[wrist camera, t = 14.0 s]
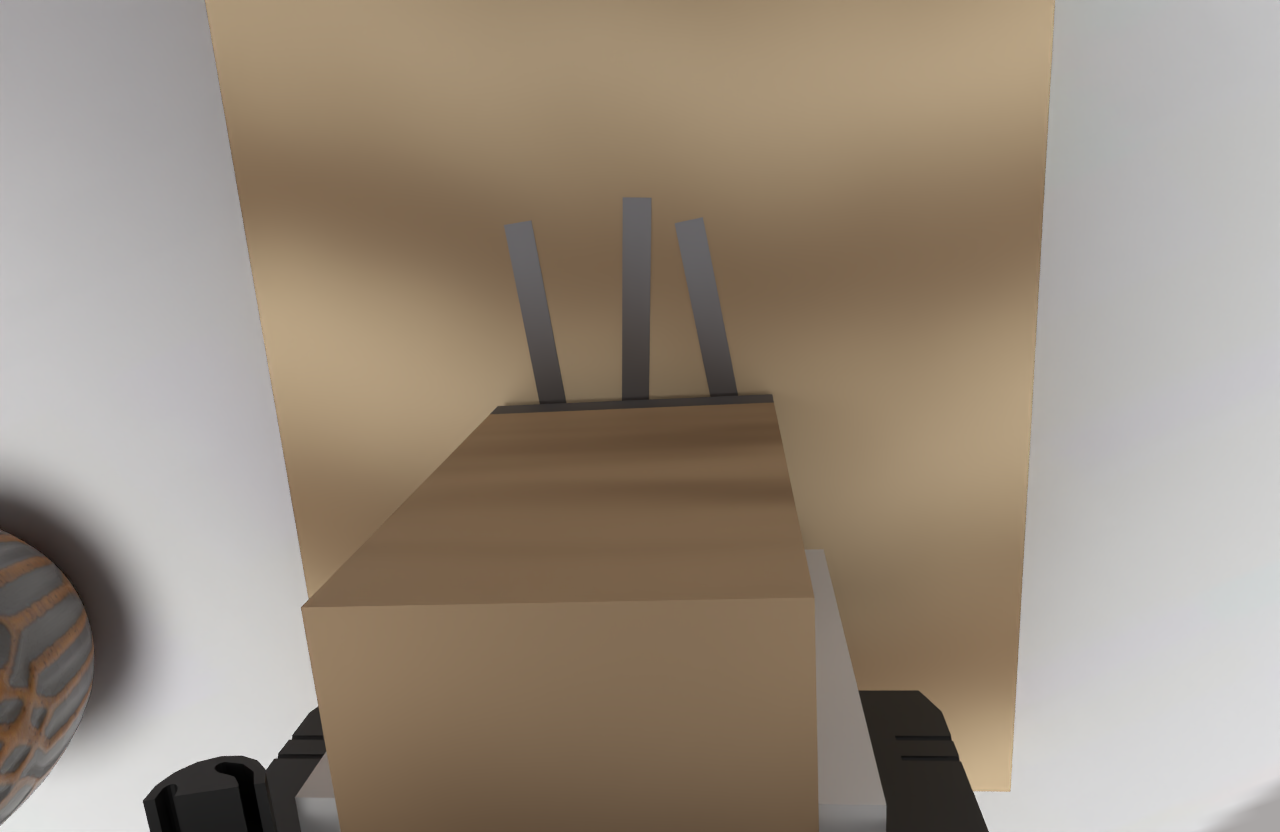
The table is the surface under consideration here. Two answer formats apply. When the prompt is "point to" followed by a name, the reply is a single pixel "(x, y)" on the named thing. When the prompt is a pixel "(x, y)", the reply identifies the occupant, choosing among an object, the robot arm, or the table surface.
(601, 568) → the wooden block
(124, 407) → the table surface
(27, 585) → the vase
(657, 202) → the board
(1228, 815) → the table surface
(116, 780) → the table surface
